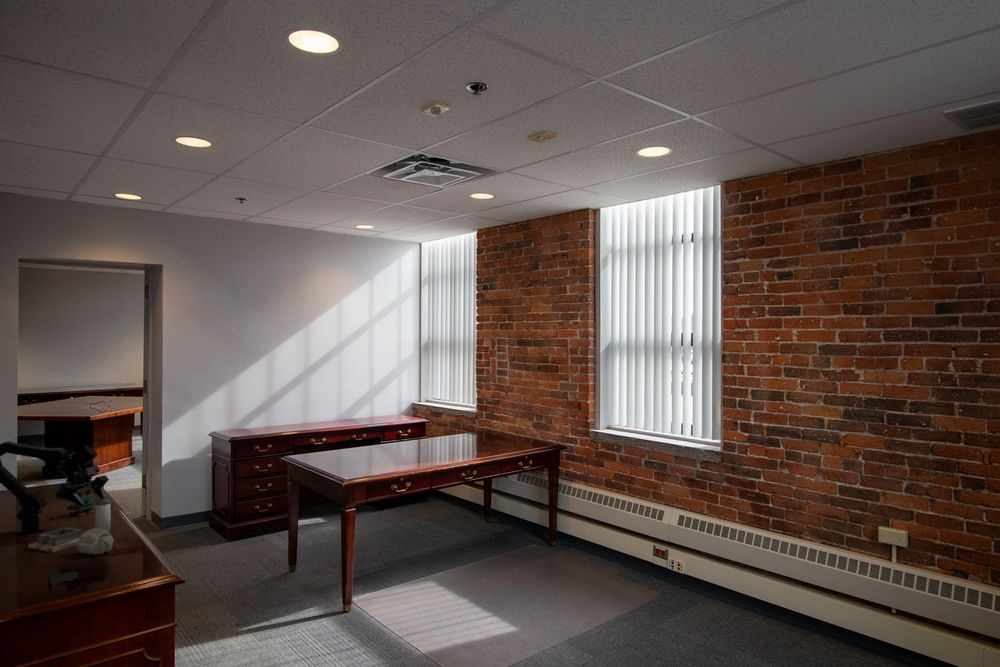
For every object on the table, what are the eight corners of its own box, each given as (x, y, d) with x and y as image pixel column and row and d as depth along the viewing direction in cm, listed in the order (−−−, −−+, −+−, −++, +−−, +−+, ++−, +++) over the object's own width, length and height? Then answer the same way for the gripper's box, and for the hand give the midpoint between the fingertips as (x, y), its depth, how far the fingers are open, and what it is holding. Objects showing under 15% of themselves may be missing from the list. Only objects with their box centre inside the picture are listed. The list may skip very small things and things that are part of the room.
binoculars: (78, 489, 271) (96, 488, 269) (80, 512, 271) (98, 511, 269) (60, 494, 262) (79, 493, 260) (61, 518, 262) (80, 517, 260)
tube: (91, 534, 237) (91, 501, 237) (104, 530, 242) (104, 498, 242) (101, 535, 235) (101, 502, 235) (114, 531, 240) (114, 499, 240)
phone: (50, 591, 181) (49, 576, 193) (49, 594, 181) (49, 578, 193) (79, 585, 186) (77, 570, 197) (79, 588, 186) (77, 573, 197)
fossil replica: (107, 557, 212) (118, 550, 222) (110, 533, 213) (121, 527, 222) (68, 557, 209) (82, 550, 219) (72, 533, 210) (85, 526, 220)
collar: (28, 548, 221) (28, 535, 221) (67, 536, 234) (67, 525, 235) (53, 552, 216) (53, 540, 216) (91, 540, 230) (91, 528, 230)
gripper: (60, 464, 234) (81, 494, 230) (105, 456, 252) (125, 483, 248) (46, 483, 236) (66, 513, 233) (91, 473, 254) (111, 501, 250)
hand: (93, 502), depth 241 cm, fingers open, 9 cm apart
